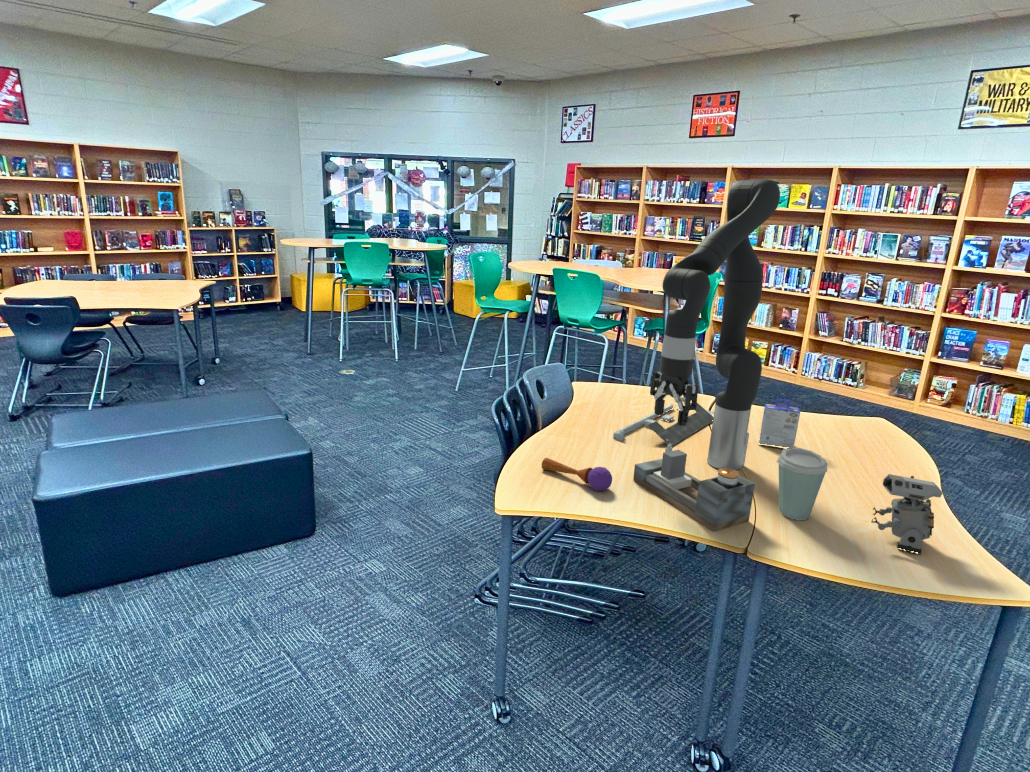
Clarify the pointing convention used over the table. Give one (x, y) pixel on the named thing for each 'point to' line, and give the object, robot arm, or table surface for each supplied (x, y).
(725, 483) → the button
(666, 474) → the carriage
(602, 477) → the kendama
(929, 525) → the figurine
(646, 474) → the grey stepped base
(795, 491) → the disposable coffee cup
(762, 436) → the ink cartridge box
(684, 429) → the paper cutter
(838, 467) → the table surface
